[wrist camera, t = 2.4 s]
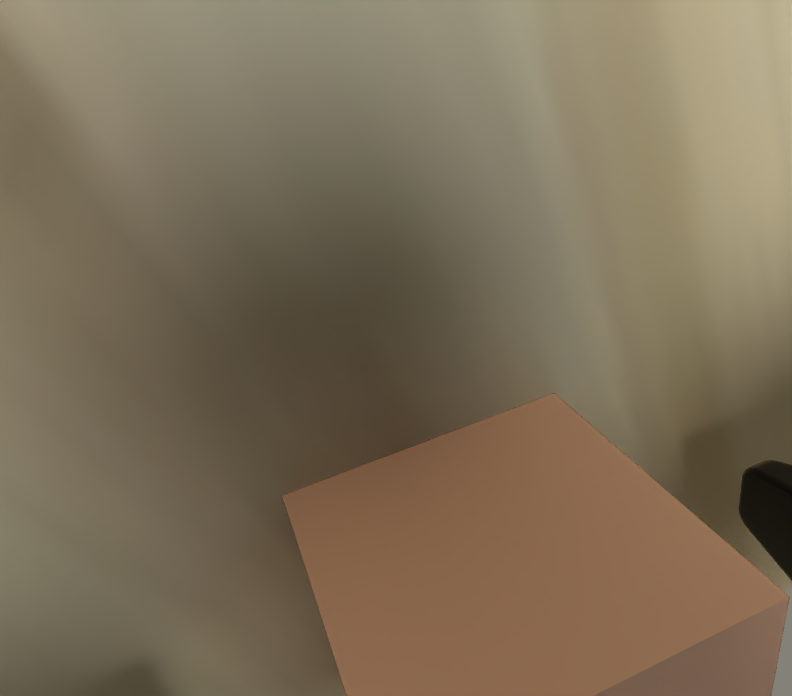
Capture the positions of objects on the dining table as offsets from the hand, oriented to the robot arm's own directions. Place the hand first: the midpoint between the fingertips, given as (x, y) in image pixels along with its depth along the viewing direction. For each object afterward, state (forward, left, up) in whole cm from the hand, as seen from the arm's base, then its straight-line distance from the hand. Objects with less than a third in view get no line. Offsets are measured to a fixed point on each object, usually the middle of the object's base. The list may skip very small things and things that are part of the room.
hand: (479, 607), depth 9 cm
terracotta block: (0, 0, -1) cm, 1 cm away
